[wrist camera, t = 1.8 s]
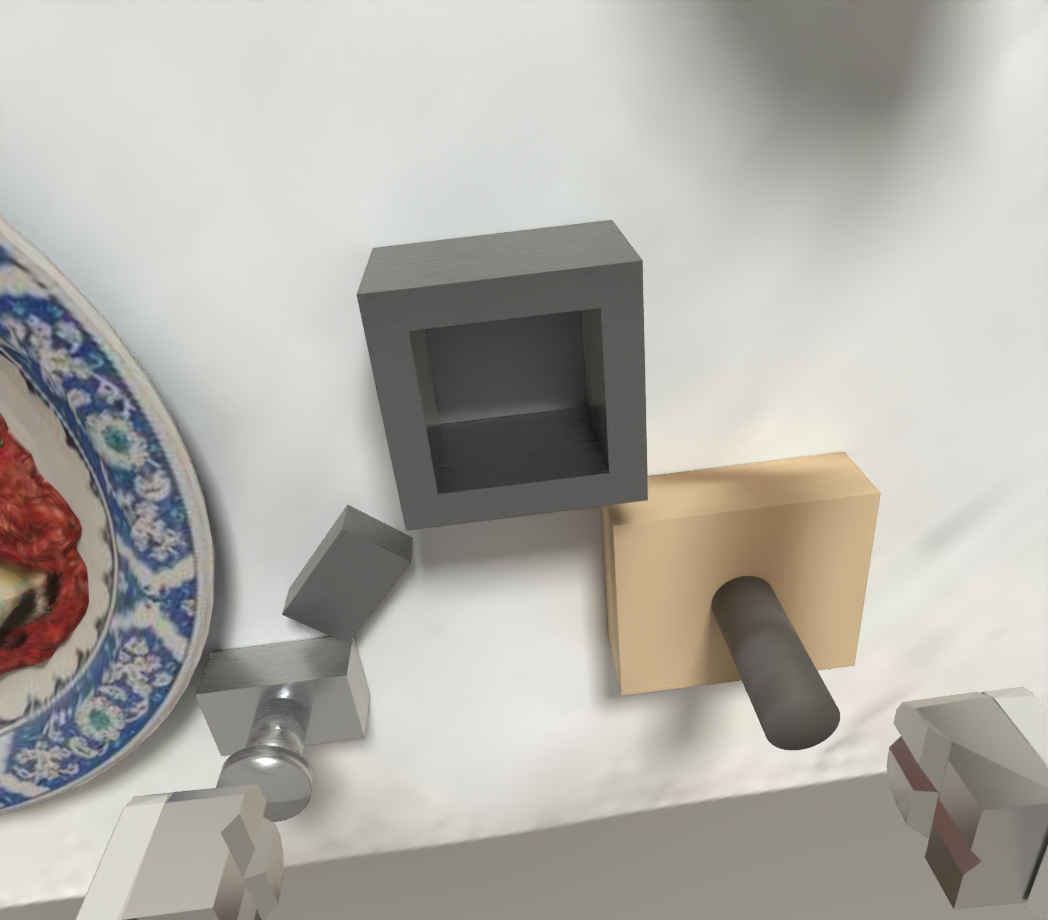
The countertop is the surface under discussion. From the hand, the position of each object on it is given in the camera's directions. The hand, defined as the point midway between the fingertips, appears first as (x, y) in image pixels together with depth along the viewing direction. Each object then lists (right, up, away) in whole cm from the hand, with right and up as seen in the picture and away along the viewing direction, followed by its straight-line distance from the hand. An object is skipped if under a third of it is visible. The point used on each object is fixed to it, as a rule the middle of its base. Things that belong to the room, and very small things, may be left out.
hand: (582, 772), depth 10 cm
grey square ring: (-1, +7, +13) cm, 15 cm away
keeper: (+6, +1, +17) cm, 18 cm away
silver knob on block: (-9, -4, +18) cm, 21 cm away
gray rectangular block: (-7, +1, +17) cm, 18 cm away
